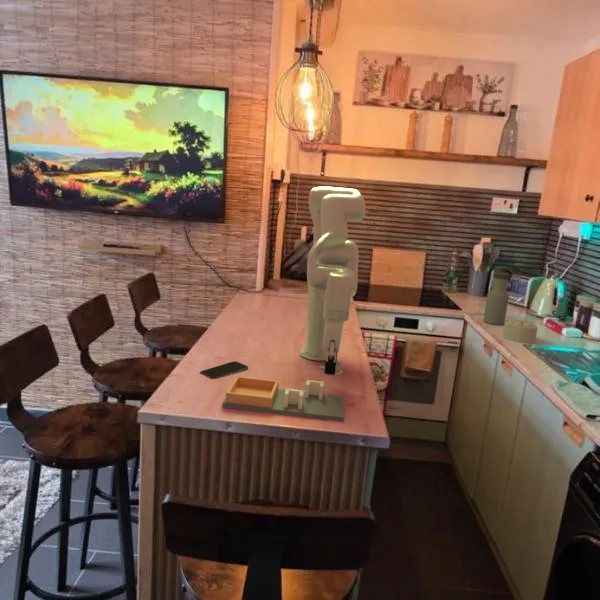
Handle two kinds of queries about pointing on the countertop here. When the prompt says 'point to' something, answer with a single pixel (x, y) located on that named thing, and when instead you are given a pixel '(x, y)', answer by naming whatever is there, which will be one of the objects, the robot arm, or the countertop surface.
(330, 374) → the pacifier
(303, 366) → the countertop surface
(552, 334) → the countertop surface
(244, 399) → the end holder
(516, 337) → the lumpy-topped squat cylinder
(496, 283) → the water bottle
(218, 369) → the smartphone
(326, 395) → the board
